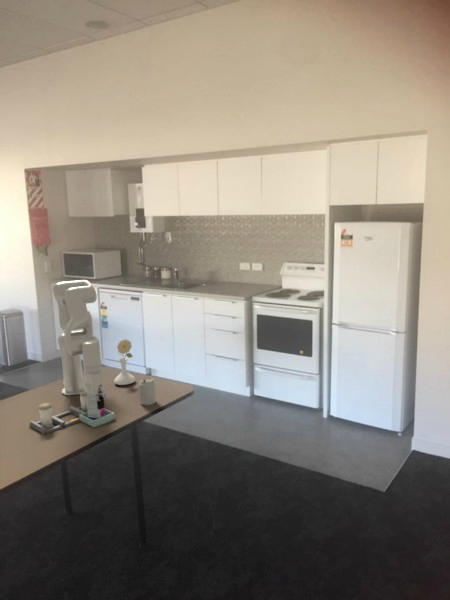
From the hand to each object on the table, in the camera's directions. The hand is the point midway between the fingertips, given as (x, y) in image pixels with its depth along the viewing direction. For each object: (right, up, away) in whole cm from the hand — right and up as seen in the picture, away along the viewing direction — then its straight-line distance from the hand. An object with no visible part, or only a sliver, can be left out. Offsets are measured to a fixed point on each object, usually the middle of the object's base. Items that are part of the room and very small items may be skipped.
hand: (95, 405), depth 225 cm
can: (+21, -3, +19) cm, 28 cm away
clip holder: (-13, -7, +3) cm, 15 cm away
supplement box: (0, -5, +1) cm, 5 cm away
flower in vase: (+4, +2, +47) cm, 48 cm away
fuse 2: (-7, -5, +10) cm, 13 cm away
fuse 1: (-20, -8, -4) cm, 22 cm away
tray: (0, -7, +1) cm, 7 cm away
